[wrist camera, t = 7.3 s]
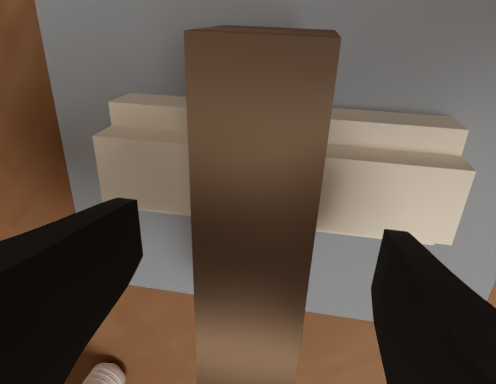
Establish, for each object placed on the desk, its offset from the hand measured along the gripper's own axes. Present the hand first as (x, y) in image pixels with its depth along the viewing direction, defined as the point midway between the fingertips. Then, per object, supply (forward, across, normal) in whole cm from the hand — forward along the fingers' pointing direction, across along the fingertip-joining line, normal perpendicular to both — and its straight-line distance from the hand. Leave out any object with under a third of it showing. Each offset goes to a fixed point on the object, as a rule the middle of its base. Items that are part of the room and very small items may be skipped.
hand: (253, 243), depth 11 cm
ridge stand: (+8, 0, 0) cm, 8 cm away
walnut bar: (+4, 0, 0) cm, 4 cm away
